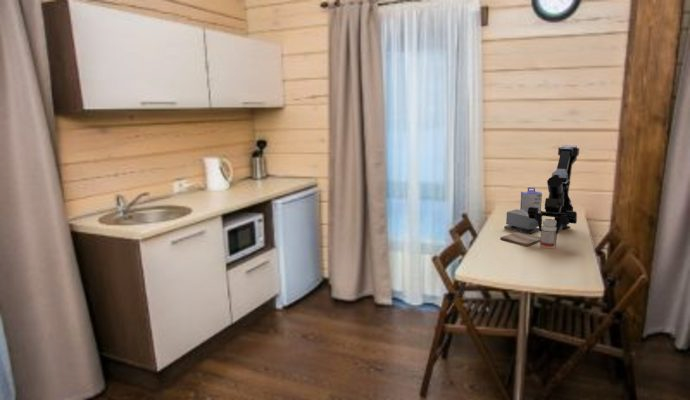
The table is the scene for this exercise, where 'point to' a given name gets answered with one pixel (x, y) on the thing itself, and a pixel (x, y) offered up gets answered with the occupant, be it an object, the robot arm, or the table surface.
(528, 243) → the plate
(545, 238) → the pill bottle
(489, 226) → the table surface
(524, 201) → the ink cartridge box
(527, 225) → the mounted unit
